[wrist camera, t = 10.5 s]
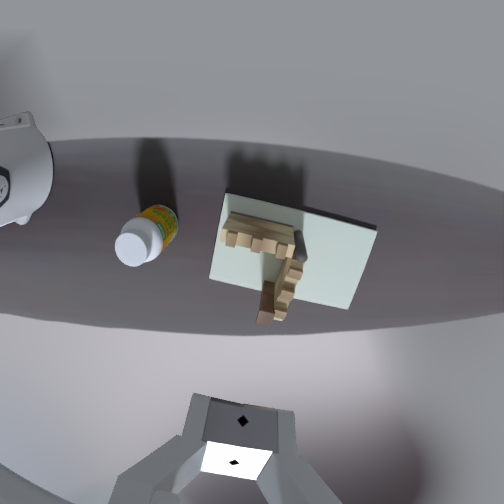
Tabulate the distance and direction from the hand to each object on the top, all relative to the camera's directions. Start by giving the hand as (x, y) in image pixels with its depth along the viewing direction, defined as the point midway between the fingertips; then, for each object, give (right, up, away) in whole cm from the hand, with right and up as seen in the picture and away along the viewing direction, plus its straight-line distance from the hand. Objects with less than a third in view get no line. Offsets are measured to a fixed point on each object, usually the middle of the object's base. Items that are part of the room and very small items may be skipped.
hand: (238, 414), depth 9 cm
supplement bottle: (-12, +9, +33) cm, 36 cm away
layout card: (+6, +5, +33) cm, 34 cm away
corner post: (+3, +1, +35) cm, 35 cm away
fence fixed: (+2, +8, +31) cm, 32 cm away
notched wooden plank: (+5, +3, +33) cm, 33 cm away
